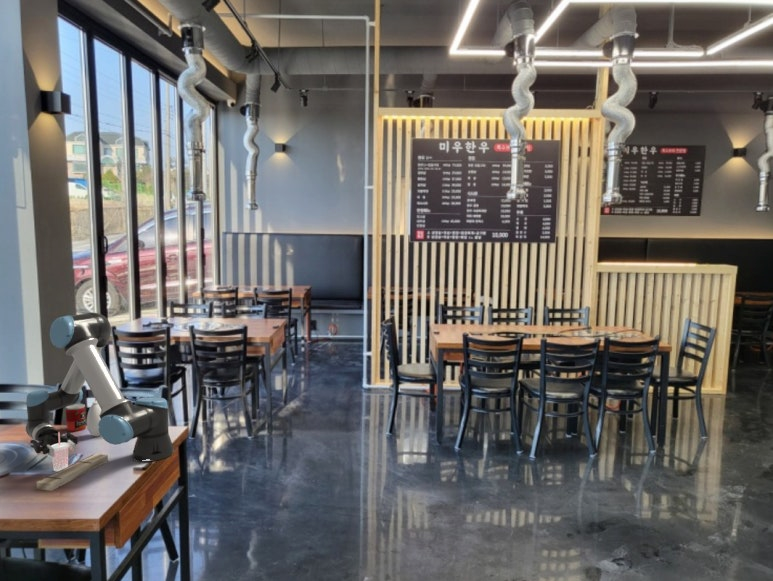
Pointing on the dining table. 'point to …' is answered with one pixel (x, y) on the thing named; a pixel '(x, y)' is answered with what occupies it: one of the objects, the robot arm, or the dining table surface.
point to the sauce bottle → (94, 419)
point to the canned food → (75, 417)
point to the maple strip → (71, 472)
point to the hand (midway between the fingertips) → (63, 450)
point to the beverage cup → (60, 455)
